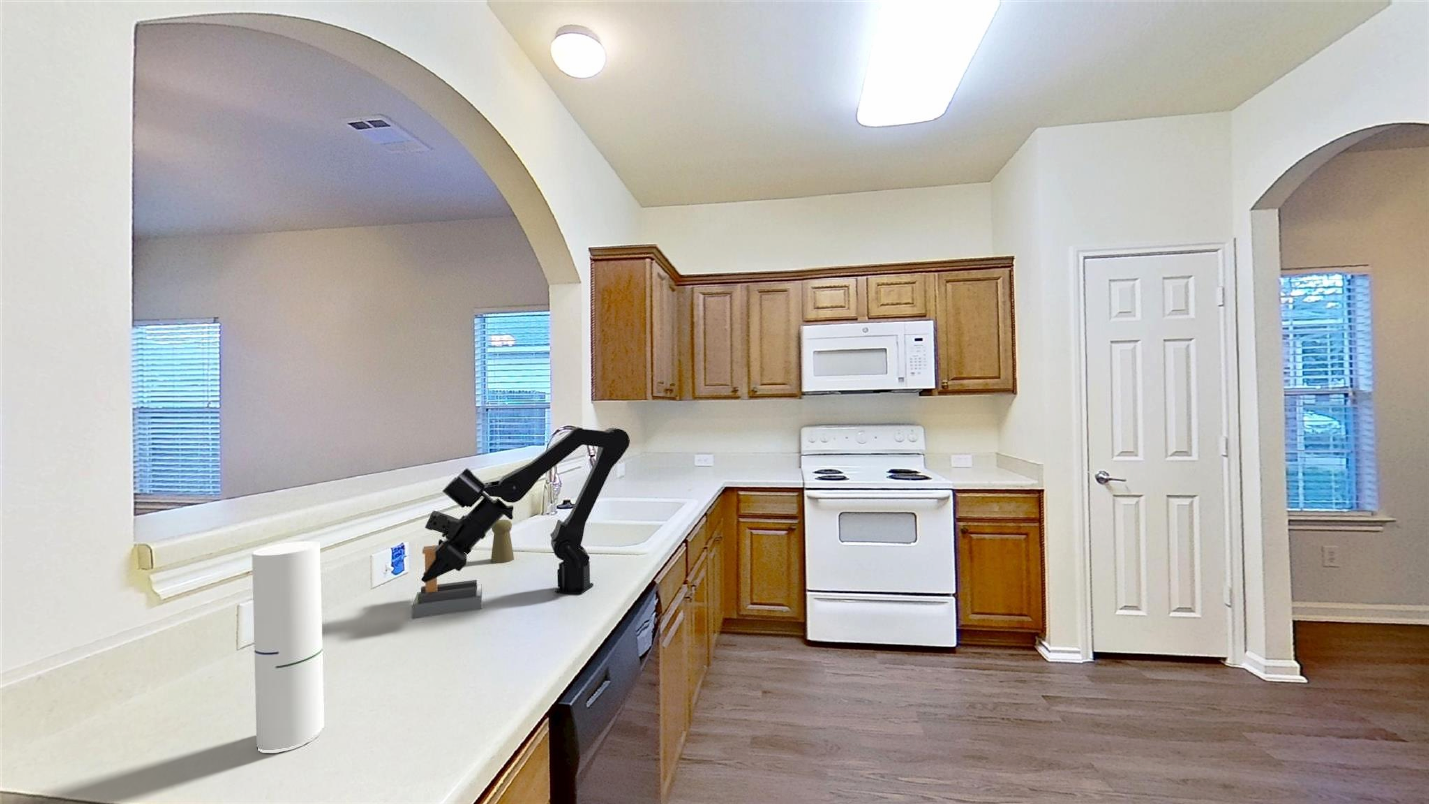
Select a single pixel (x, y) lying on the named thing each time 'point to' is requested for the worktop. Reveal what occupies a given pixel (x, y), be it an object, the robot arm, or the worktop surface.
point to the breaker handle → (429, 558)
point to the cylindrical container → (287, 644)
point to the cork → (502, 542)
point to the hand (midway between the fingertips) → (423, 578)
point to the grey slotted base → (448, 599)
